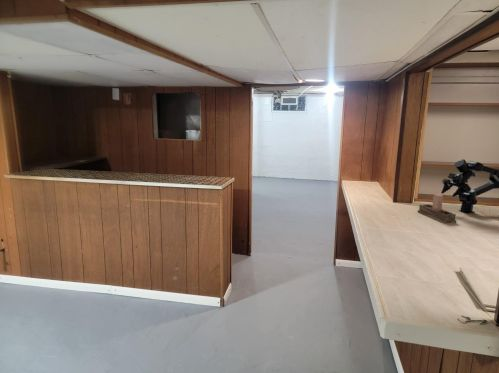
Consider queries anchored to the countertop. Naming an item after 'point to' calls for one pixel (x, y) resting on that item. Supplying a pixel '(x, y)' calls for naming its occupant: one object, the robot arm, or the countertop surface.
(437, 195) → the clay block
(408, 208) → the countertop surface
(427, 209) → the compartment tray
